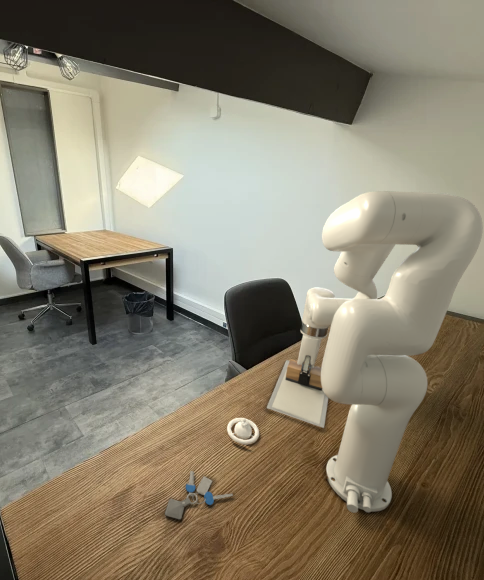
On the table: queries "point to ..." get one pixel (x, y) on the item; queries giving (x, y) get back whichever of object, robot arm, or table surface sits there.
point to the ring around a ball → (243, 431)
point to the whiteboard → (298, 400)
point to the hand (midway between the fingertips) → (304, 378)
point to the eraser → (295, 370)
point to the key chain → (177, 507)
